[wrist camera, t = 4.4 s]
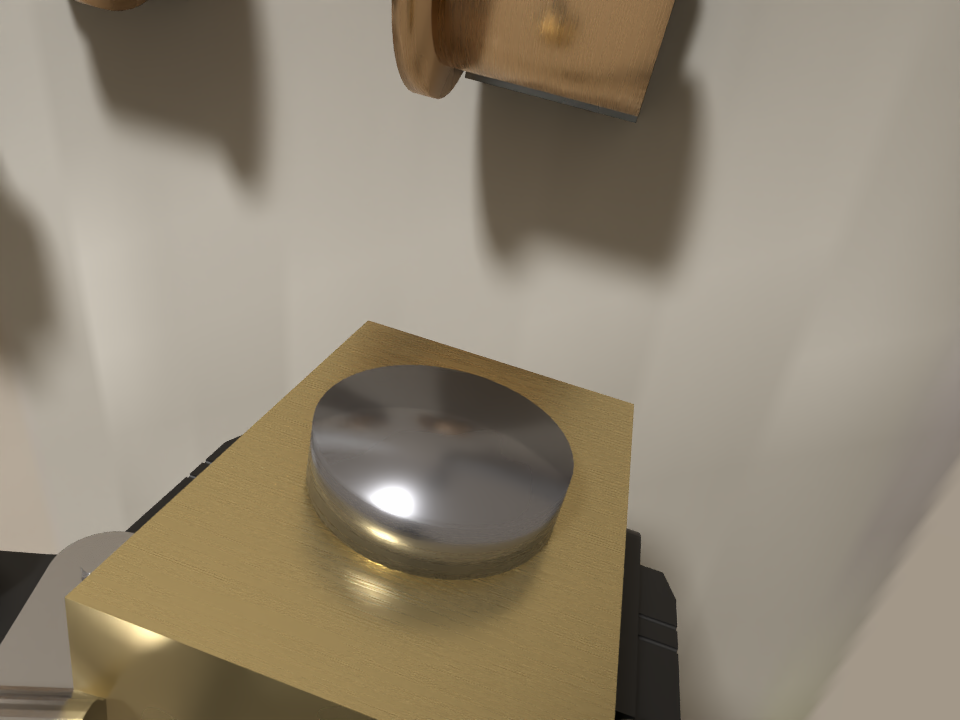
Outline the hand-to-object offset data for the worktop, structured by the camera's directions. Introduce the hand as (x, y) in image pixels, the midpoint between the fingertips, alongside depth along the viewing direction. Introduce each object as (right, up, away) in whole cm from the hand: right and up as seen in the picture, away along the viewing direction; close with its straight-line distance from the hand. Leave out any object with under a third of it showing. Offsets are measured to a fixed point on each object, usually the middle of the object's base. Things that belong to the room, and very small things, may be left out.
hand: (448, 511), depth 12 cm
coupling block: (0, +1, +1) cm, 1 cm away
